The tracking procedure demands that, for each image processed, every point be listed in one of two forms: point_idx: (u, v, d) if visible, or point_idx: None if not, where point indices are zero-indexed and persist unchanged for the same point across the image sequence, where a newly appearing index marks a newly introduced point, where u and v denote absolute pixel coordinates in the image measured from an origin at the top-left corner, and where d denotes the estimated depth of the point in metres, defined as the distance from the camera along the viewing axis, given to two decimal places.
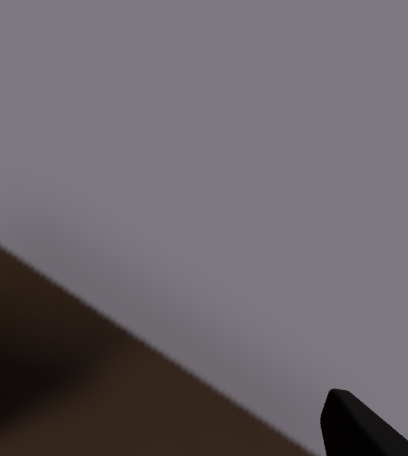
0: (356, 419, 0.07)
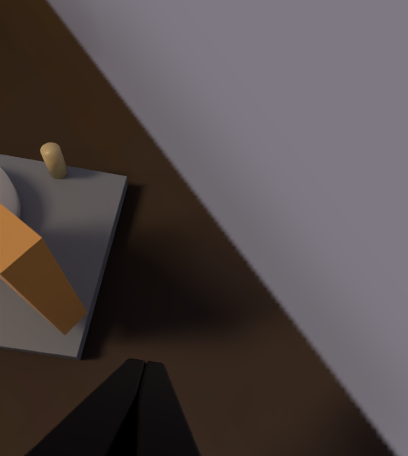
0: (141, 388, 0.07)
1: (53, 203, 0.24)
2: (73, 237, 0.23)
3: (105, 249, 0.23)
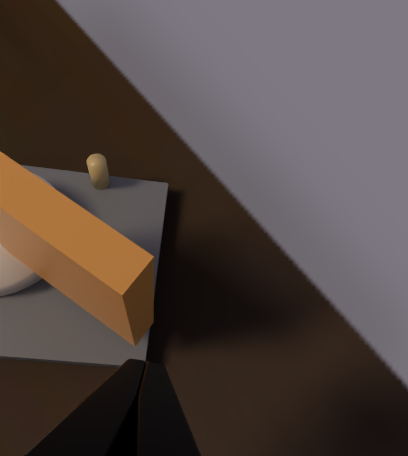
0: (141, 388, 0.07)
1: (100, 214, 0.24)
2: None
3: (157, 257, 0.23)
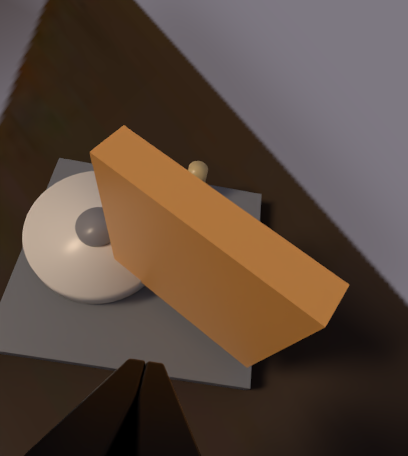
0: (141, 388, 0.07)
1: None
2: None
3: None
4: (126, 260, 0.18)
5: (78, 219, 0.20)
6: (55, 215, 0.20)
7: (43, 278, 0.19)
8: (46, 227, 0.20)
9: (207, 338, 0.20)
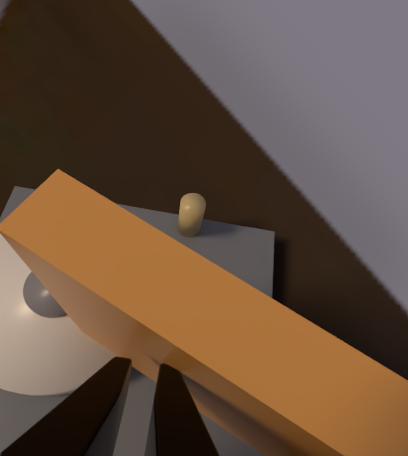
0: (157, 391, 0.07)
1: None
2: None
3: None
4: (97, 339, 0.13)
5: (27, 281, 0.15)
6: None
7: None
8: None
9: None
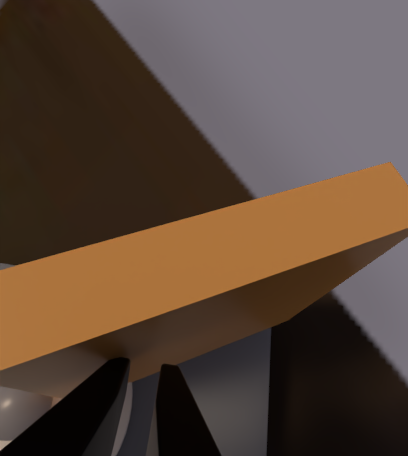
0: (159, 391, 0.07)
1: None
2: (215, 427, 0.15)
3: (265, 447, 0.15)
4: None
5: None
6: None
7: None
8: None
9: None
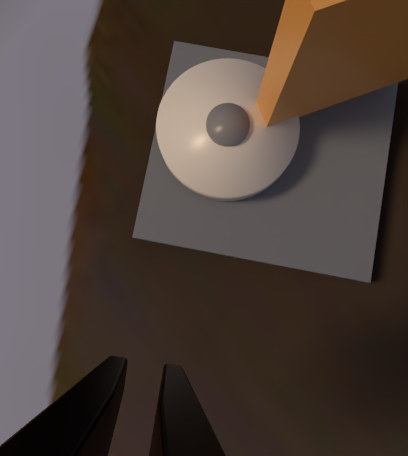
0: (162, 391, 0.07)
1: (322, 116, 0.22)
2: (350, 158, 0.21)
3: (384, 171, 0.21)
4: (288, 110, 0.19)
5: (212, 136, 0.20)
6: (194, 155, 0.20)
7: (253, 190, 0.19)
8: (203, 168, 0.20)
9: (331, 236, 0.21)
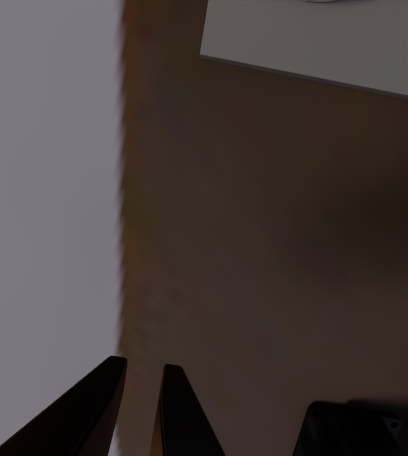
0: (162, 391, 0.07)
1: None
2: None
3: None
4: None
5: None
6: None
7: None
8: None
9: None
